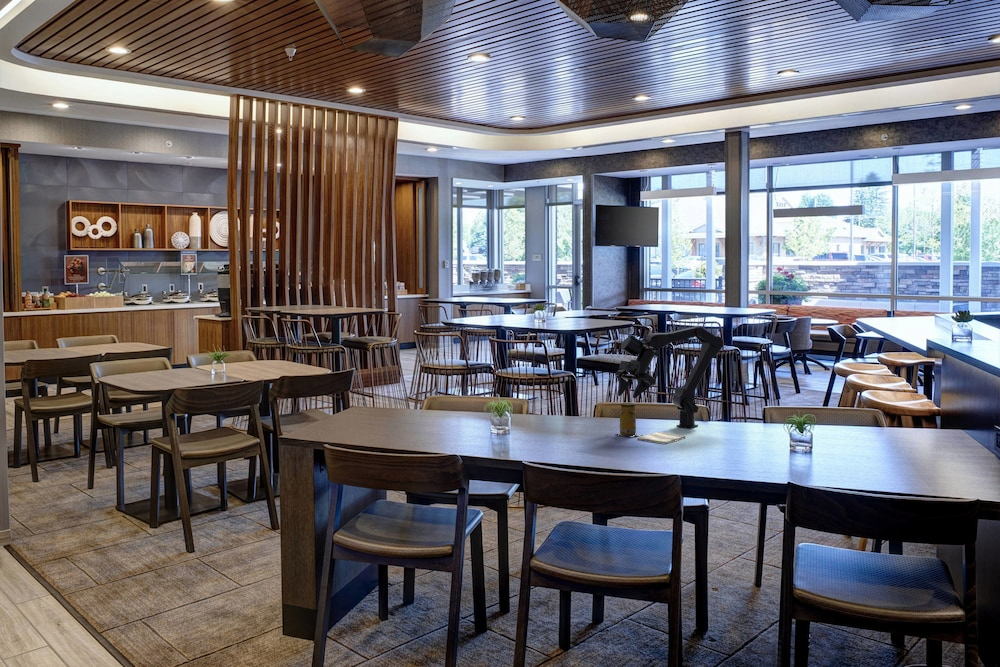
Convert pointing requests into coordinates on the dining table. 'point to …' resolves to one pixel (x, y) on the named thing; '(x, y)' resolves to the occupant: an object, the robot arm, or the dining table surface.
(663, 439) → the serving board
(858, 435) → the dining table surface
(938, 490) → the dining table surface
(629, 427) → the condiment
